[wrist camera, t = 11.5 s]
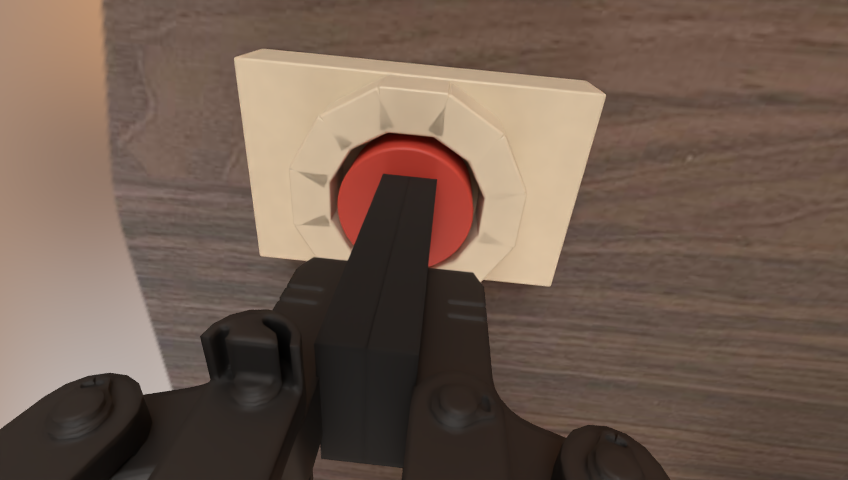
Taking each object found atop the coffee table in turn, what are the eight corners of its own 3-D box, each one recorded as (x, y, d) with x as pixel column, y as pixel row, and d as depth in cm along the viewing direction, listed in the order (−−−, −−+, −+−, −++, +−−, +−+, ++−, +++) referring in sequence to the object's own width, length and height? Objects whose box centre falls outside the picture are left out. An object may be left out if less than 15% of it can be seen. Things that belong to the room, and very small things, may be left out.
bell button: (349, 236, 15) (337, 263, 13) (349, 122, 13) (334, 140, 11) (462, 248, 15) (464, 277, 13) (480, 136, 13) (483, 155, 11)
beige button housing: (280, 228, 18) (238, 285, 14) (261, 48, 14) (200, 65, 11) (540, 256, 18) (561, 319, 14) (587, 80, 14) (629, 109, 11)
